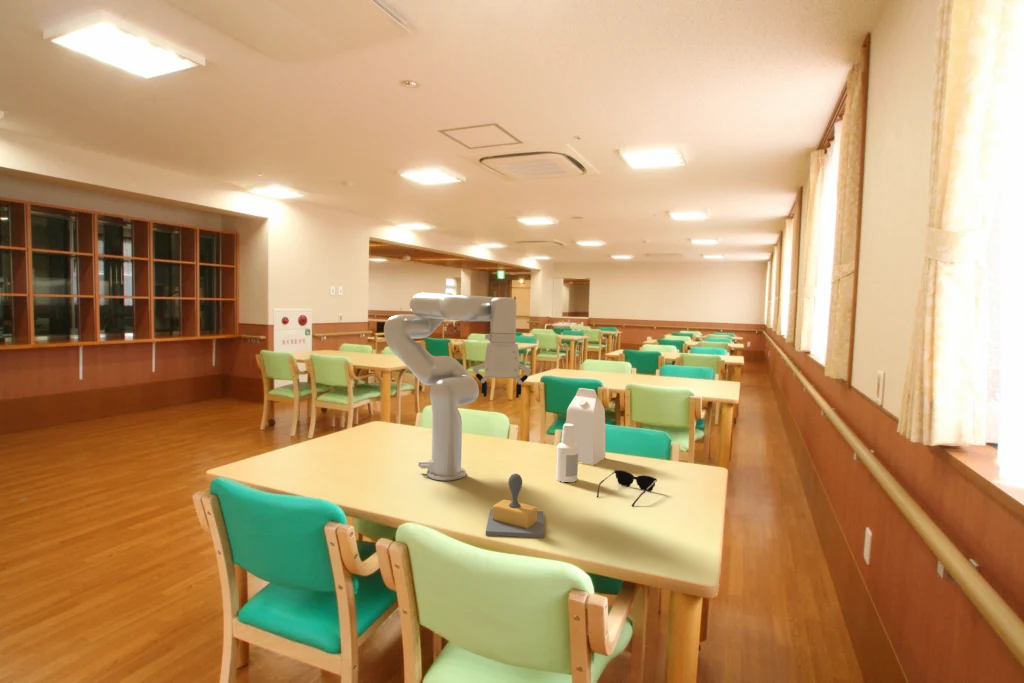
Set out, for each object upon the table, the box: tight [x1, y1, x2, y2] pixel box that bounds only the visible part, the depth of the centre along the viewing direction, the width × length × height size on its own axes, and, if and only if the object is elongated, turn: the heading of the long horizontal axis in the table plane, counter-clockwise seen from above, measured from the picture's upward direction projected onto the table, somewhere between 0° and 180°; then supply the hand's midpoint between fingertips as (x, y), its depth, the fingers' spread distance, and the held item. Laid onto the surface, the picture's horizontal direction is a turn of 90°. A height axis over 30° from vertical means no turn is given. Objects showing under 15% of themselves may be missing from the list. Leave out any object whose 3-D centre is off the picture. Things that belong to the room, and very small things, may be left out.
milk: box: [565, 387, 606, 466], centre depth 192 cm, size 12×12×26 cm
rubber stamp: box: [492, 473, 538, 528], centre depth 132 cm, size 10×6×12 cm, turn 60°
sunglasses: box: [596, 469, 658, 508], centre depth 156 cm, size 14×16×5 cm
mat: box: [485, 508, 545, 539], centre depth 132 cm, size 14×14×1 cm
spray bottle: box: [555, 423, 579, 483], centre depth 168 cm, size 7×7×18 cm
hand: (501, 396), depth 156 cm, fingers open, 9 cm apart
